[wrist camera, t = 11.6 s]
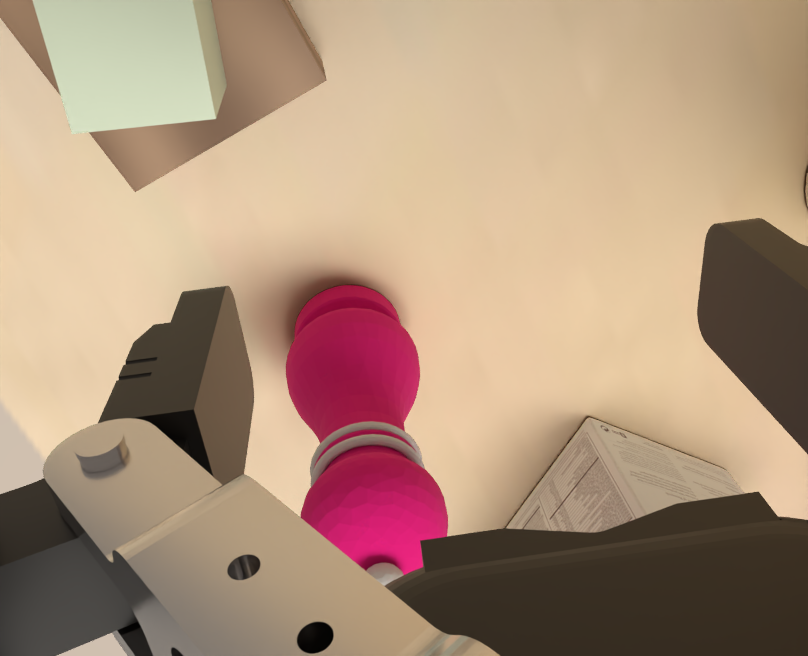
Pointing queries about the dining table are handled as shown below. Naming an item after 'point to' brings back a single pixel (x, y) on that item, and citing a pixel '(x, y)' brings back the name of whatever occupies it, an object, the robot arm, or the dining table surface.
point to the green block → (133, 61)
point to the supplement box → (616, 482)
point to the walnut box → (244, 71)
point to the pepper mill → (363, 431)
